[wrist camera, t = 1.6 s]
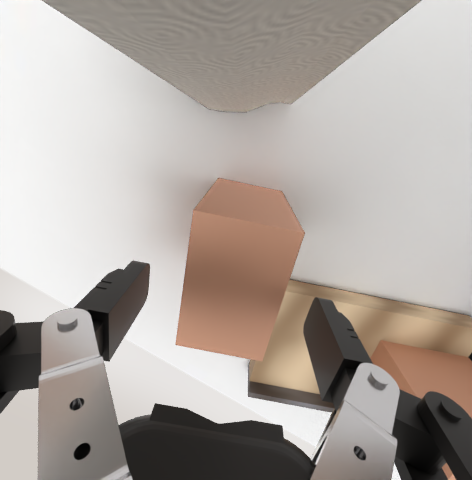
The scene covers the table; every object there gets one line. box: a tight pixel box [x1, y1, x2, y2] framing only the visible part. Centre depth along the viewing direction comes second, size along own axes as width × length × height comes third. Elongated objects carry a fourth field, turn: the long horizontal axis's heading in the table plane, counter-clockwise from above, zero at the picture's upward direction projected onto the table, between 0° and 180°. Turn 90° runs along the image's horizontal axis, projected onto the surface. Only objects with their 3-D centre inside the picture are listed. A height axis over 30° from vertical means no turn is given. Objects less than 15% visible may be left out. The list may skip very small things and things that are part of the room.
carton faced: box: [370, 340, 472, 480], centre depth 19 cm, size 8×5×9 cm, turn 79°
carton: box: [176, 178, 305, 361], centre depth 17 cm, size 8×5×9 cm, turn 169°
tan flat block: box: [248, 280, 472, 412], centre depth 23 cm, size 18×12×3 cm, turn 79°
